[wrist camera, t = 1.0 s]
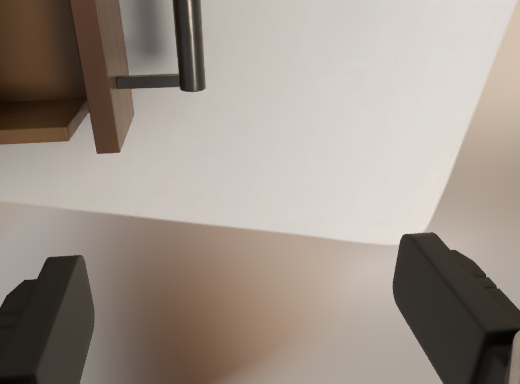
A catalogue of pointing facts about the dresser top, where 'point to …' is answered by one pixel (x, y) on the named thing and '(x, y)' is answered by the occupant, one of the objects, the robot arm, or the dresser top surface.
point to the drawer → (81, 69)
